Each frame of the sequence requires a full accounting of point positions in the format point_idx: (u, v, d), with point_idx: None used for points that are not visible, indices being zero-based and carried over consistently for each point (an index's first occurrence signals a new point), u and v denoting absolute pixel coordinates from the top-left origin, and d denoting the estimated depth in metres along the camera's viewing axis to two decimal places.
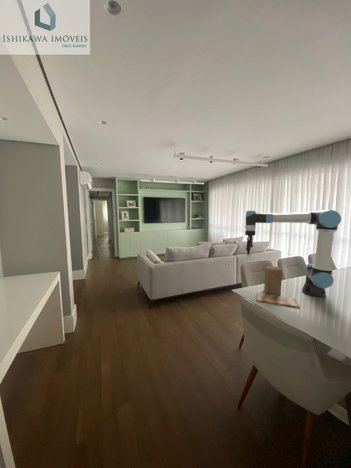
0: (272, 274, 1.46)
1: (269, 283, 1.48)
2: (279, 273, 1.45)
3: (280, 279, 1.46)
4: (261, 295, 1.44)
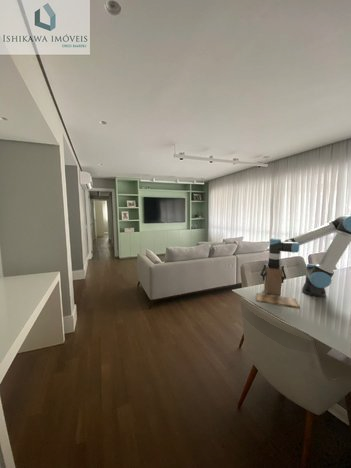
0: (272, 274, 1.46)
1: (269, 283, 1.48)
2: (279, 273, 1.45)
3: (280, 279, 1.46)
4: (261, 295, 1.44)
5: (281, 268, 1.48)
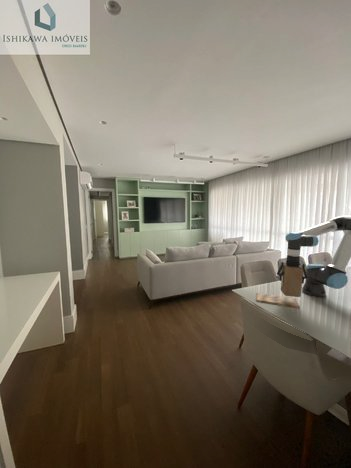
0: (291, 273, 1.28)
1: (287, 283, 1.29)
2: (299, 272, 1.27)
3: (300, 278, 1.27)
4: (261, 295, 1.44)
5: (301, 266, 1.29)
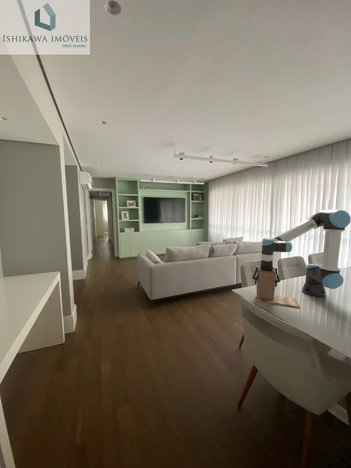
0: (265, 277, 1.34)
1: (261, 287, 1.35)
2: (272, 276, 1.33)
3: (273, 282, 1.33)
4: None
5: None
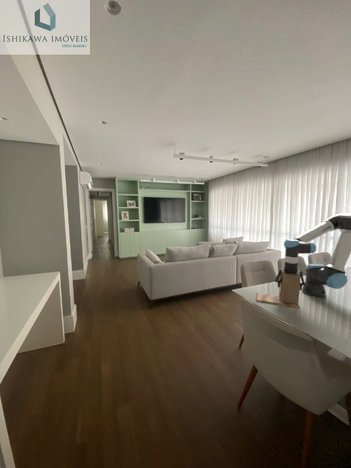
0: (289, 280, 1.29)
1: (285, 290, 1.30)
2: (296, 279, 1.28)
3: (298, 286, 1.28)
4: (261, 295, 1.44)
5: (299, 273, 1.30)
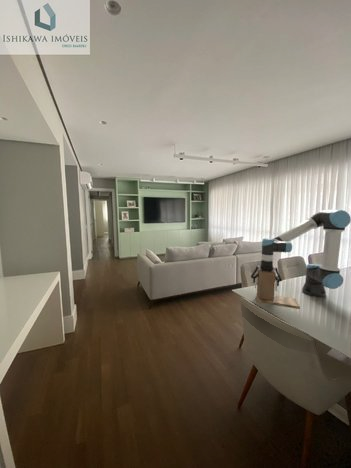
0: (264, 277, 1.35)
1: (261, 287, 1.36)
2: (271, 276, 1.33)
3: (272, 283, 1.34)
4: None
5: (275, 270, 1.36)
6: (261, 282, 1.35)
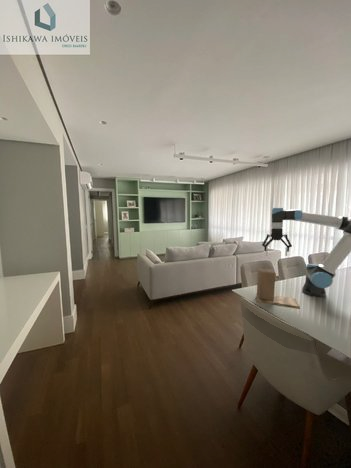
0: (264, 277, 1.35)
1: (261, 287, 1.36)
2: (271, 276, 1.33)
3: (272, 283, 1.34)
4: None
5: (285, 237, 1.45)
6: (261, 282, 1.35)
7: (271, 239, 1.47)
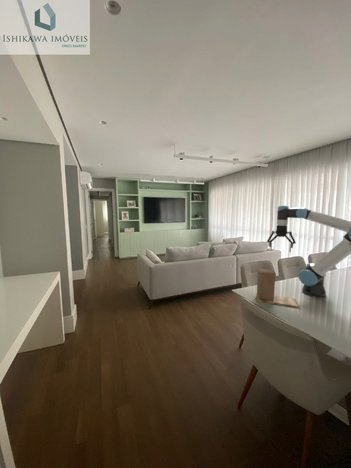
0: (264, 277, 1.35)
1: (261, 287, 1.36)
2: (271, 276, 1.33)
3: (272, 283, 1.34)
4: None
5: None
6: (261, 282, 1.35)
7: (276, 235, 1.54)
